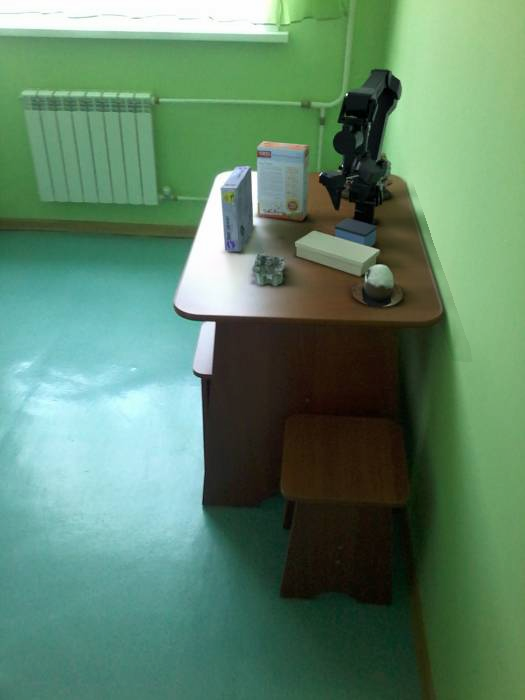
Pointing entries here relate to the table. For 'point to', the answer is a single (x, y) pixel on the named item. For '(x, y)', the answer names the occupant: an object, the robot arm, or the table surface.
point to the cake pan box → (237, 208)
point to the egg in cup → (377, 288)
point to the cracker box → (282, 180)
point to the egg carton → (268, 269)
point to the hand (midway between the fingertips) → (349, 207)
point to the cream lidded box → (337, 252)
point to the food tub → (356, 232)
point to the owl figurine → (384, 179)
